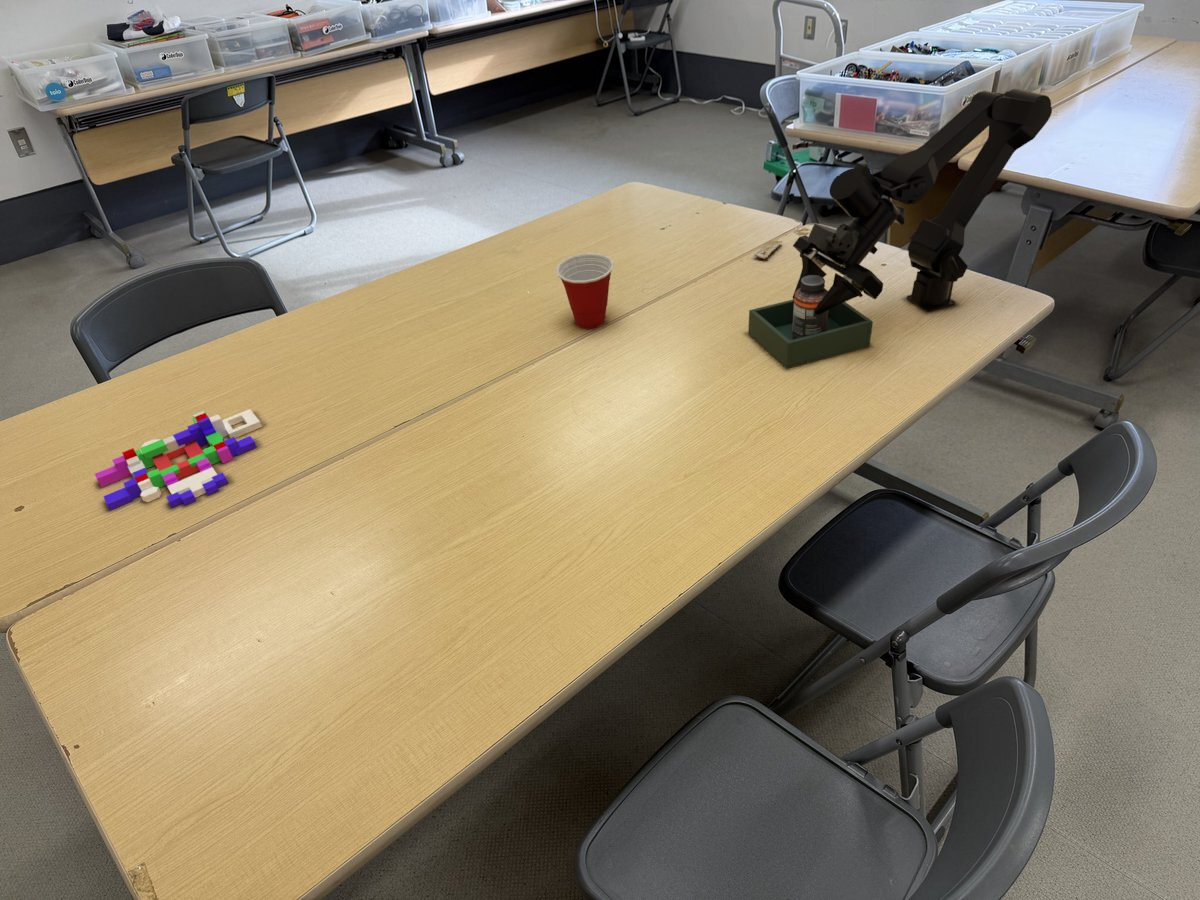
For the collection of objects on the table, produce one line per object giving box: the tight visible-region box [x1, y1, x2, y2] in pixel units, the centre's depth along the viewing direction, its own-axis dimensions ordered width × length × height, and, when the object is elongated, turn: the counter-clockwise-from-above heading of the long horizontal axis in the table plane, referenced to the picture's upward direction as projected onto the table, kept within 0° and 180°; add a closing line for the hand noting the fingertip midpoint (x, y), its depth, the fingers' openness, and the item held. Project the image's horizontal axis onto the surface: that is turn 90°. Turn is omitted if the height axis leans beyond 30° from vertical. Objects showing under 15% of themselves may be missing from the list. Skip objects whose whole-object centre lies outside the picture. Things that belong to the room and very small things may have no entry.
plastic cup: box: [555, 252, 615, 330], centre depth 149 cm, size 11×11×12 cm
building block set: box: [94, 408, 263, 511], centre depth 124 cm, size 25×20×4 cm
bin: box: [747, 298, 874, 369], centre depth 140 cm, size 17×14×5 cm
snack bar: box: [754, 240, 783, 260], centre depth 172 cm, size 10×2×3 cm
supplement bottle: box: [792, 275, 829, 339], centre depth 138 cm, size 6×6×11 cm
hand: (804, 306), depth 137 cm, fingers closed on supplement bottle, 6 cm apart
